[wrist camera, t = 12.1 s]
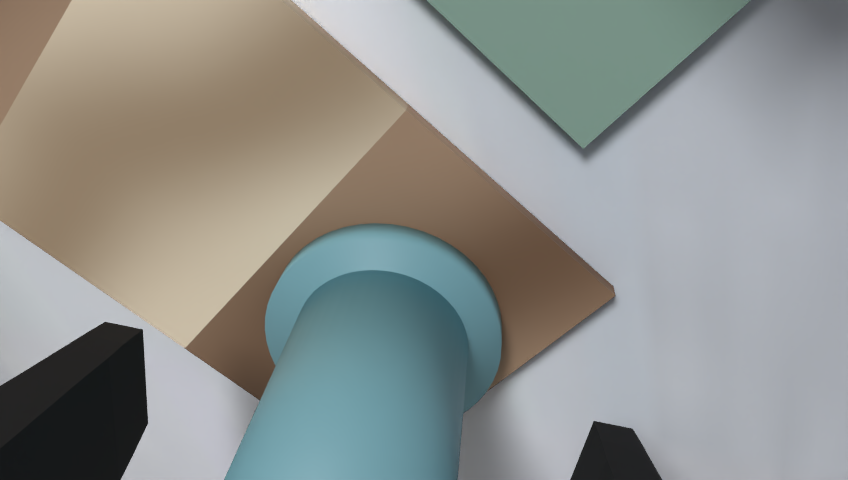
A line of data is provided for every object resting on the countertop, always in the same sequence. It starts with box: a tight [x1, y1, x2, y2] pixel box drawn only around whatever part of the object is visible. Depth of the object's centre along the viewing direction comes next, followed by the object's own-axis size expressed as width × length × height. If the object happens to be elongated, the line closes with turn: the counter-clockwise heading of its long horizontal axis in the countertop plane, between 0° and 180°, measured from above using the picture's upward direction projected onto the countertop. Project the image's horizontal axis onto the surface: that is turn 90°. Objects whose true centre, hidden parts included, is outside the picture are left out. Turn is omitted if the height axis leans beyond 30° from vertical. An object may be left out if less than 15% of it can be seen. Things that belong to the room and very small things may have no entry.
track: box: [0, 0, 615, 400], centre depth 11 cm, size 20×7×1 cm, turn 48°
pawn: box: [224, 223, 502, 480], centre depth 11 cm, size 4×4×6 cm
